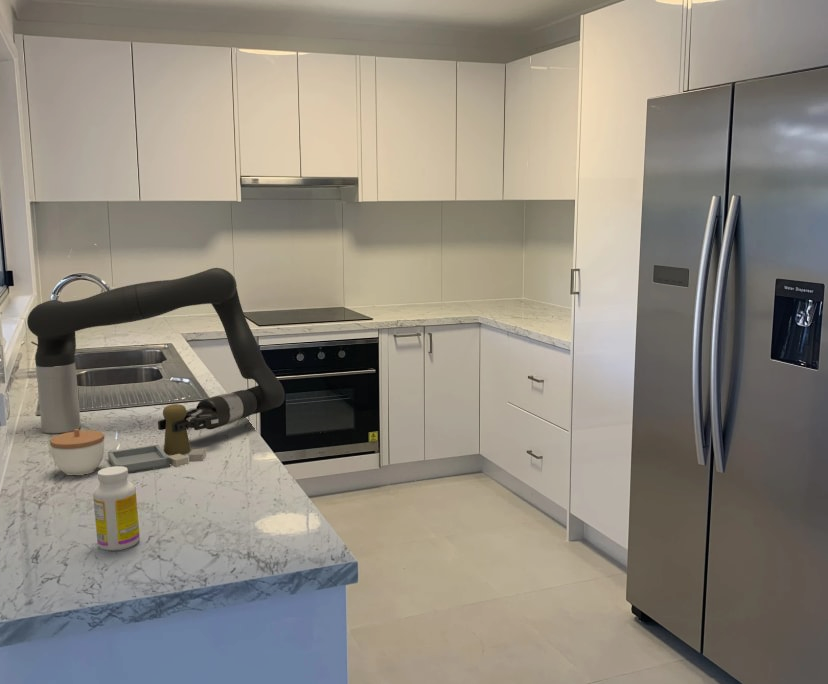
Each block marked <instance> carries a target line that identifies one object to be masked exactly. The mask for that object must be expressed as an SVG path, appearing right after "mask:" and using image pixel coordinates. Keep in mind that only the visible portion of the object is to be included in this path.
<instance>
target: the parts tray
mask: <svg viewBox="0 0 828 684" xmlns="http://www.w3.org/2000/svg"><path fill="white" fill-rule="evenodd" d="M168 456H169V455H167V454H166V453H165V452H164V449H163V448H162V447H161V446H160V445H159V444H154V445H153V444H152V445H145V446H140V447H139V446H138V447H133V448H125V449H120V450H113V451H112V450H111V451H108V452H107V458H108V462H109V464H110V467H115V466H122V467H126V468H127V469H128V475H130V474H134V473H140V472H146V471H151V470H152V471H154V470H160V469H165V468H169V467H170V468H171V465H170V458H169V457H168Z"/></svg>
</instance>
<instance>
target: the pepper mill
mask: <svg viewBox="0 0 828 684" xmlns="http://www.w3.org/2000/svg"><path fill="white" fill-rule="evenodd" d="M186 411H187V409H186V407H185V406H184V405H183V404H178V403H177V404H169V405H166V406H165V407H164V408H163V410H162V415H163V418H164V419H165V420H166V427H165V429H164V445H163V451H164V452H165V453H166V454H167V456H171V455H176V454H181V455H185V454H188V453H190V452H191V451H192V448H191V445H190V444H191V443H190V439H189V435H188V430H187V429H186V430H183V431H180V432H176V433H175V432H172V423H175V422H178V421H181V420H184V418H185V416H186Z"/></svg>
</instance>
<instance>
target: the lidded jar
mask: <svg viewBox="0 0 828 684" xmlns="http://www.w3.org/2000/svg"><path fill="white" fill-rule="evenodd" d="M49 445H50V451H51V455H52V459H53V462H54V464H55V465H56V467H57V468H58V469H59V470H60V471H62V472H63V473H64V475H65V474H68V475H82V476H85V475H84V474H87V475H89V473H90V474H92V473H94V472H95V471H96V469H97V468H98V466H99V465H100V464H101V463H102V460H103V458H104V453H105V434H104V433H103V432H102V431H98V430H89V429H88V430H80V428H79V429H74V431H70V432H64V433H59V434H57V435H55V436H53V437H51V439H50V440H49Z"/></svg>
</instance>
